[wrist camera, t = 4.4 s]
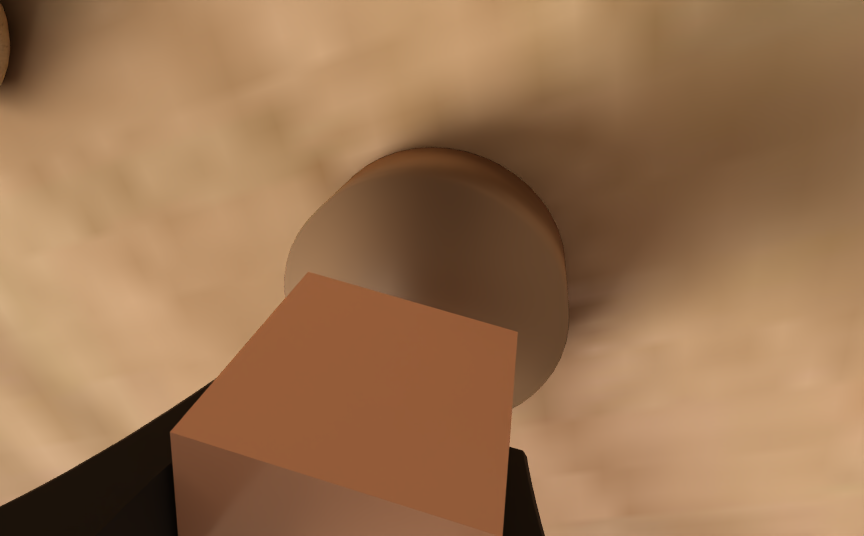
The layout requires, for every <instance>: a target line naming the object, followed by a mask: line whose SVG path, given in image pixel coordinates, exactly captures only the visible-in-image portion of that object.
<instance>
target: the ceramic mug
mask: <svg viewBox="0 0 864 536" xmlns="http://www.w3.org/2000/svg"><path fill="white" fill-rule="evenodd" d="M9 55H10V38H9V30H8V22H7V18H6V15H5V12H4V9H3V6H2V5H1V3H0V86H1V84H2V82H3V79H4V76H5V73H6V70H7V67H8V62H9Z"/></svg>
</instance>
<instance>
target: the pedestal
mask: <svg viewBox="0 0 864 536" xmlns="http://www.w3.org/2000/svg"><path fill="white" fill-rule="evenodd" d="M307 272H311V273H315V274H318V275H322V276H325V277H328V278H332V279H335V280H339V281H342V282H346V283H349V284H353V285H356V286H360V287H363V288H367V289H370V290H374V291H377V292H381V293H384V294H388V295H391V296H395V297H398V298H402V299H405V300H408V301H412V302H415V303H419V304H422V305H426V306H429V307H433V308H436V309H440V310H443V311H447V312H450V313H454V314H457V315H461V316H464V317H468V318H471V319H475V320H478V321H482V322H485V323H488V324H492V325H495V326H499V327H502V328H506V329H509V330H513V331H516V332H518V336H517V349H516V362H515V376H514V389H513V403H512V408H514V407H516V406H518V405H520V404H521V403H523V402H524V401H525V400H527V399H528V398H529V397H531V396H532V395H533V394H534V393H535V392H536V391H537V390H538V389H539V388H540V387H541V386H542V385H543V384H544V383H545V382H546V381H547V379H548V378H549V377H550V375H551V374H552V373H553V371H554V370H555V368H556V366H557V364H558V362H559V360H560V358H561V356H562V353H563V350H564V347H565V344H566V340H567V334H568V328H569V304H568V291H567V278H566V266H565V256H564V250H563V244H562V241H561V238H560V234H559V231H558V228H557V226H556V224H555V222H554V220H553V218H552V216H551V214H550V212H549V211H548V209H547V208H546V206H545V205H544V203H543V202H542V200H541V199H540V198H539V197H538V196H537V195H536V194H535V193H534V191H533V190H532V189H531V188H530V187H529V186H528V185H527V184H525V183H524V182H523V181H522V180H521V179H520V178H519V177H517V176H516V175H515V174H513V173H512V172H510V171H509V170H507V169H506V168H504V167H502V166H501V165H499V164H497V163H495V162H493V161H491V160H489V159H486V158H484V157H481V156H478V155H475V154H472V153H469V152H466V151H460V150H455V149H450V148H435V147H428V148H415V149H409V150H405V151H400V152H396V153H393V154H391V155H388V156H385V157H382V158H380V159H378V160H376V161H375V162H373V163H371V164H369V165H367V166H366V167H365V168H363V169H362V170H361V171H359V172H358V173H356V174H355V175H354V176H353V177H352V178H351V179H350V180H349V181H348V182H347V183H345V184H344V185H343V186H342V187H341V188H340V189H339V190H338V191H337V192H336V193H335V194H334V195H333V196H332V197H331V198H329V199H328V200H327V201H326V202H325V203H324V204H323V205H322V206H321V207H320V208H319V209H318V210H317V211H316V212H315V213H314V214H313V215H312V216H311V217H310V218H309V219H308V220H307V221H306V223H305V224H304V226H303V227H302V228H301V230H300V231H299V233H298V234H297V237H296V239H295V241H294V243H293V245H292V247H291V249H290V253H289V256H288V259H287V263H286V270H285V277H284V293H285V298H286V297H287V296H288V294H289V293H290V292H291V291H292V290H293V289H294V287H295V286H296V285H297V284H298V283H299V282H300V281H301V279H302V278H303V277H304V276H305V275H306V274H307Z"/></svg>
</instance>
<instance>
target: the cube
mask: <svg viewBox="0 0 864 536" xmlns="http://www.w3.org/2000/svg"><path fill="white" fill-rule="evenodd" d="M517 336H518V332H516V331H513V330H509V329H506V328H502V327H499V326H495V325H492V324H488V323H485V322H482V321H478V320H475V319H471V318H468V317H464V316H461V315H457V314H454V313H450V312H447V311H443V310H440V309H436V308H433V307H429V306H426V305H422V304H419V303H415V302H412V301H408V300H405V299H402V298H398V297H395V296H391V295H388V294H384V293H381V292H377V291H374V290H370V289H367V288H363V287H360V286H356V285H353V284H349V283H346V282H342V281H339V280H335V279H332V278H328V277H325V276H322V275H318V274H315V273H311V272H307V274H306V275H305V276H304V277H303V278H302V279H301V281H300V282H299V283H298V284H297V285H296V286H295V287H294V289H293V290H292V291H291V292H290V293H289V294H288V296H287V297H286V298H285V299H284V300H283V301H282V303H281V304H280V305H279V306H278V307H277V308H276V310H275V311H274V312H273V313H272V314H271V315H270V317H269V318H268V319H267V320H266V321H265V322H264V324H263V325H262V326H261V327H260V328H259V329H258V330H257V332H256V333H255V334H254V335H253V336H252V337H251V339H250V340H249V341H248V342H247V343H246V344H245V346H244V347H243V348H242V349H241V350H240V351H239V353H238V354H237V355H236V356H235V357H234V358H233V360H232V361H231V362H230V363H229V364H228V365H227V366H226V368H225V369H224V370H223V371H222V372H221V373H220V375H219V376H218V377H217V378H216V379H215V380H214V382H213V383H212V384H211V385H210V386H209V387H208V389H207V390H206V391H205V392H204V393H203V394H202V396H201V397H200V398H199V399H198V400H197V401H196V402H195V404H194V405H193V406H192V407H191V408H190V409H189V411H188V412H187V413H186V414H185V415H184V416H183V418H182V419H181V420H180V421H179V422H178V423H177V425H176V426H175V427H174V428H173V429H172V430H171V432H170V438H171V451H172V464H173V477H174V490H175V503H176V516H177V529H178V536H503V523H504V510H505V496H506V483H507V470H508V456H509V443H510V429H511V416H512V403H513V389H514V376H515V362H516V349H517Z"/></svg>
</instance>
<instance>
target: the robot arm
mask: <svg viewBox="0 0 864 536" xmlns="http://www.w3.org/2000/svg"><path fill="white" fill-rule="evenodd" d="M214 380H215V379H214ZM214 380H213V381H212V382H210V383H209V384H207V385H206V386H204V387H203V388H201V389H200V390H198V391H197V392H195V393H194V394H192V395H191V396H189V397H188V398H186V399H185V400H183V401H182V402H180V403H179V404H177V405H176V406H174V407H173V408H171V409H170V410H168V411H167V412H165V413H163V414H162V415H160V416H159V417H157V418H156V419H154V420H152V421H151V422H149V423H148V424H146V425H144V426H143V427H141V428H140V429H138V430H137V431H135V432H133V433H132V434H130V435H129V436H127V437H125V438H124V439H122V440H120V441H119V442H117V443H115V444H114V445H112V446H110V447H109V448H107V449H105V450H103V451H102V452H100V453H98V454H96V455H95V456H93V457H91V458H90V459H88V460H86V461H84V462H83V463H81V464H79V465H78V466H76V467H74V468H72V469H71V470H69V471H67V472H65V473H63V474H62V475H60V476H58V477H56V478H54V479H52V480H51V481H49V482H47V483H45V484H43V485H41V486H39V487H37V488H36V489H34V490H32V491H30V492H28V493H26V494H24V495H22V496H20V497H18V498H16V499H14V500H12V501H10V502H8V503H6V504H4V505H2V506H0V536H178V529H177V516H176V503H175V490H174V477H173V464H172V451H171V438H170V432H171V430H172V429H173V428H174V427H175V426H176V425H177V423H178V422H179V421H180V420H181V419H182V418H183V416H184V415H185V414H186V413H187V412H188V411H189V409H190V408H191V407H192V406H193V405H194V404H195V402H196V401H197V400H198V399H199V398H200V397H201V396H202V394H203V393H204V392H205V391H206V390H207V389H208V387H209V386H210V385H211V384H212V383H213V382H214ZM503 536H545V534H544V531H543V527H542V524H541V520H540V516H539V512H538V508H537V504H536V500H535V495H534V491H533V487H532V482H531V477H530V472H529V467H528V461H527V456H526V455H525V453H524V452H523V451H522V450H519V449H515V448H512V447H509V456H508V470H507V483H506V496H505V510H504V523H503Z"/></svg>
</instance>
